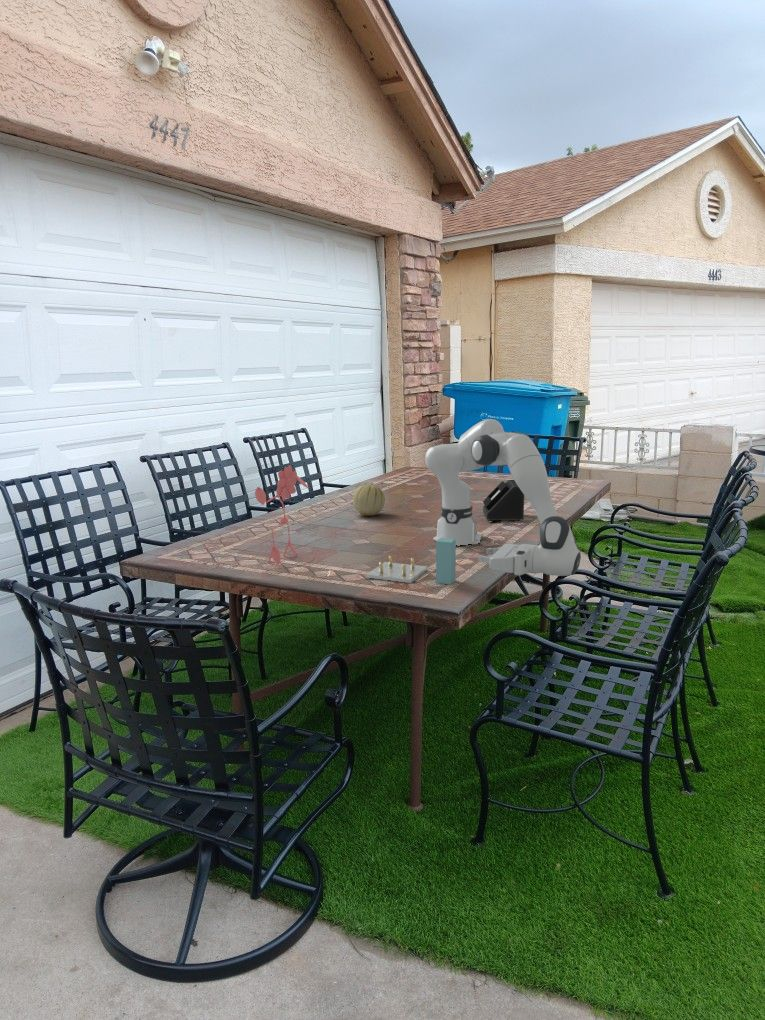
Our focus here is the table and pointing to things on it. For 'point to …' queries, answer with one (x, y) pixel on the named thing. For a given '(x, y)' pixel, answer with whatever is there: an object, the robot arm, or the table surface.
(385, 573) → the post plate
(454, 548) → the teal block
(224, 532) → the table surface
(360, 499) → the cantaloupe
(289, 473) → the figurine
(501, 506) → the voltmeter
